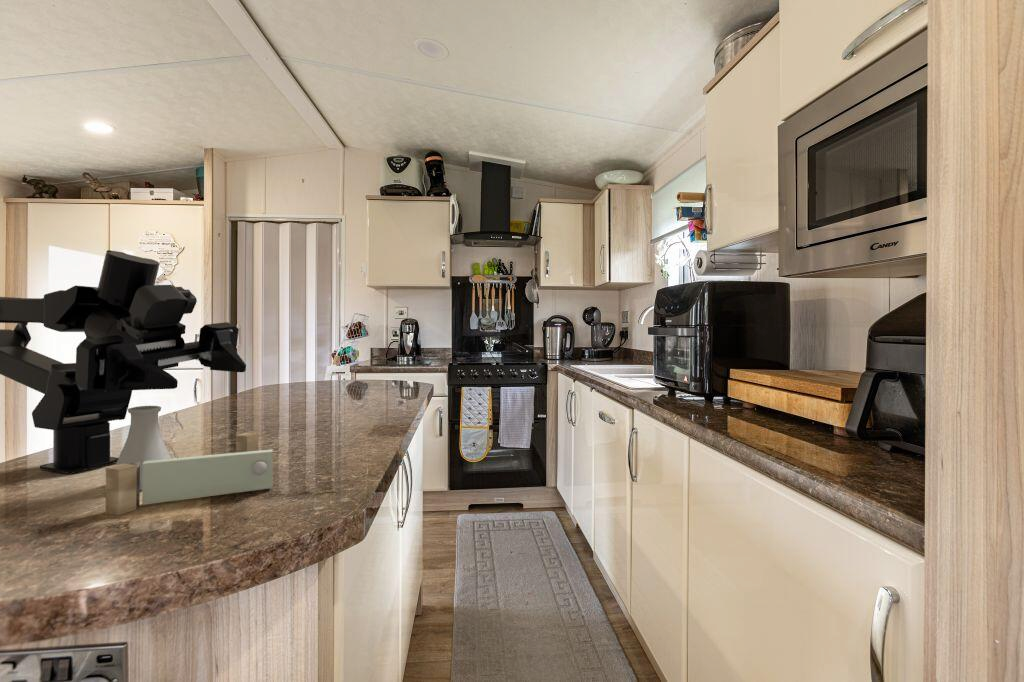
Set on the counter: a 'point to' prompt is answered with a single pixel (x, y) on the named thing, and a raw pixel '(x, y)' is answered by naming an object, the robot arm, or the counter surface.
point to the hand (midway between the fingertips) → (212, 376)
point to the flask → (143, 438)
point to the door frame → (127, 479)
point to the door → (206, 475)
